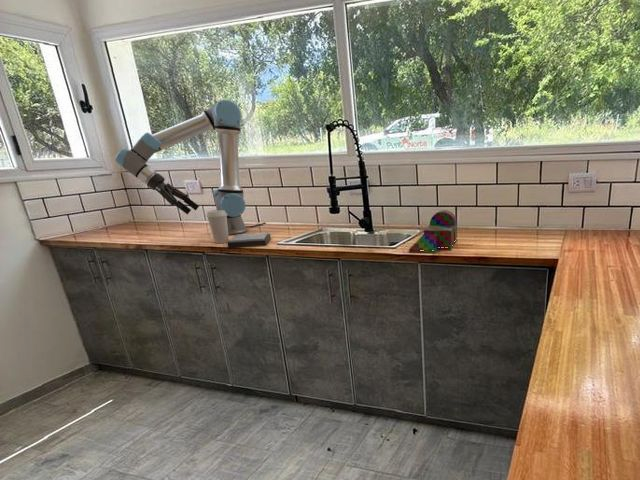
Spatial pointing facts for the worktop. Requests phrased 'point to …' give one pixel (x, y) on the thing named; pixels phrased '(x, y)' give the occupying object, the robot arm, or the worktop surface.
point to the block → (437, 234)
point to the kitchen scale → (249, 240)
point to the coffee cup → (218, 225)
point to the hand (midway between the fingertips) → (193, 210)
